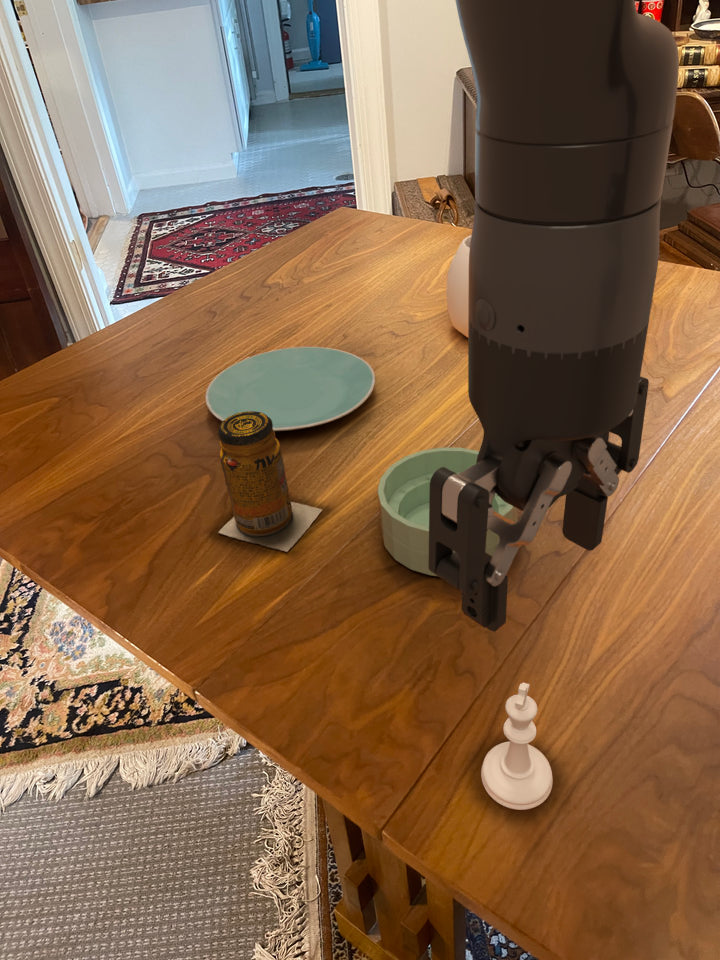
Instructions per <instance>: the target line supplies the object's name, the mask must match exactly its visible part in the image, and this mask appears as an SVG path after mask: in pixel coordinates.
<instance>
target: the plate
mask: <svg viewBox="0 0 720 960" xmlns="http://www.w3.org/2000/svg"><path fill="white" fill-rule="evenodd" d="M375 386H376V373H375V371H374V369H373V367H372V366H371V365H370V364H369V363H368V362H367V361H366V360H364V359H363V358H361V356H358V355H356V354H353V353H350V352H348V351H344V350H341V349H336V348H331V347H323V346H293V347H286V348H279V349H273V350H269V351H265V352H261V353H258V354H255V355H252V356H249V357H246V358H244V359H242V360H240V361H238V362H236V363H233V364H232V365H230V366H228V367H226V368H225V369H223V370H222V371H221V372H219V373H217V375H216V376H215V377H214V378H212V380H211V382H210V383H209V384H208V386H207V388H206V391H205V396H204V397H205V398H204V399H205V403H206V406H207V409H208V410H209V412H210V413H211V414H212V415H213V416H214V417H215V418H216V419H217V420H219V421H220V422H221V423H222V422H223V421H224V420H225V419H226V418H228V417H230V416H232V415H234V414H237V413H240V412H246V411H255V412H261V413H263V414H266V415H267V416H268V417H269V418H270V419H271V420H272V424H273V430H274V432H284V431H297V430H303V429H308V428H313V427H316V426H321V425H325V424H327V423H331V422H333V421H336V420H338V419H341V418H343V417H346V416H347V415H349V414H351V413H352V412H354V411H355V410H356V409H358V408H359V407H361V406H362V405H363V404H364V403H365V402H366V401H367V399H368V398H369V397H370V396H371V394H372V392H373V390H374V388H375Z"/></svg>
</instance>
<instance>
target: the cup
mask: <svg viewBox="0 0 720 960" xmlns="http://www.w3.org/2000/svg"><path fill="white" fill-rule="evenodd" d="M471 236H472V234H470V235H468V236H466V237H464V238H463V240H462V241H461V242H460V244H459V246H458V248H457V250H456V252H455V253H454V255H453V257H452V259H451V262H450V266H449V267H448V271H447V275H446V276H447V278H446V288H445V289H446V290H445V293H446V294H445V295H446V309H447V314H448V317H449V318H450V321H451V323H452V325H453V328H454V329H455V330H456V331H458V332H459V333H461V334H462V335H463V336H465V337H466V338H467V339H468V291H469V251H470V242H471Z"/></svg>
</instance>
